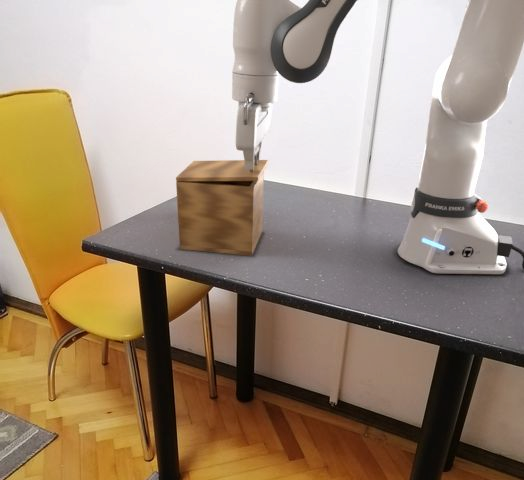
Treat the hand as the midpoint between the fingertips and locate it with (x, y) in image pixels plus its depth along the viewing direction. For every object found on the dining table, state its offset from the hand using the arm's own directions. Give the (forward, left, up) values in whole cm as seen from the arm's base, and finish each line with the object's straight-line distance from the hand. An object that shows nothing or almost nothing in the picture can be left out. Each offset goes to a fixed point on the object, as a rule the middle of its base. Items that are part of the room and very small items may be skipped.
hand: (252, 164), depth 109 cm
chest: (+6, 0, -17) cm, 18 cm away
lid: (+6, 0, -2) cm, 6 cm away
